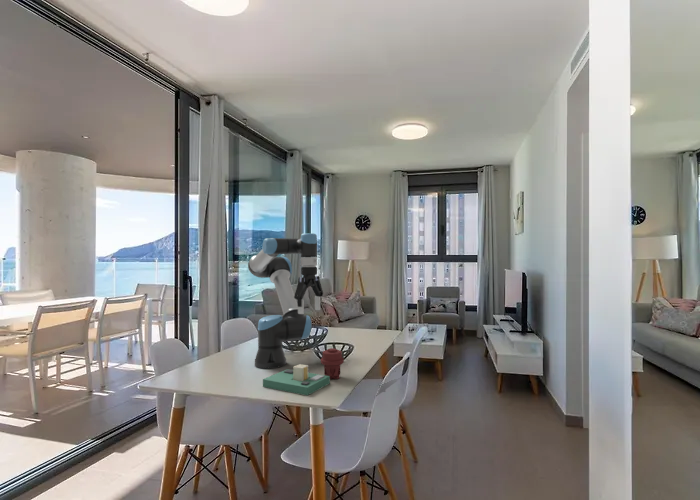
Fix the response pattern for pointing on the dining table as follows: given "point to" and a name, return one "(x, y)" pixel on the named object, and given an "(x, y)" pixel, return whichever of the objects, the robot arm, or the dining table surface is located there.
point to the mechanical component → (332, 362)
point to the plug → (300, 372)
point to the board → (296, 382)
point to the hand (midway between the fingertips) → (309, 311)
